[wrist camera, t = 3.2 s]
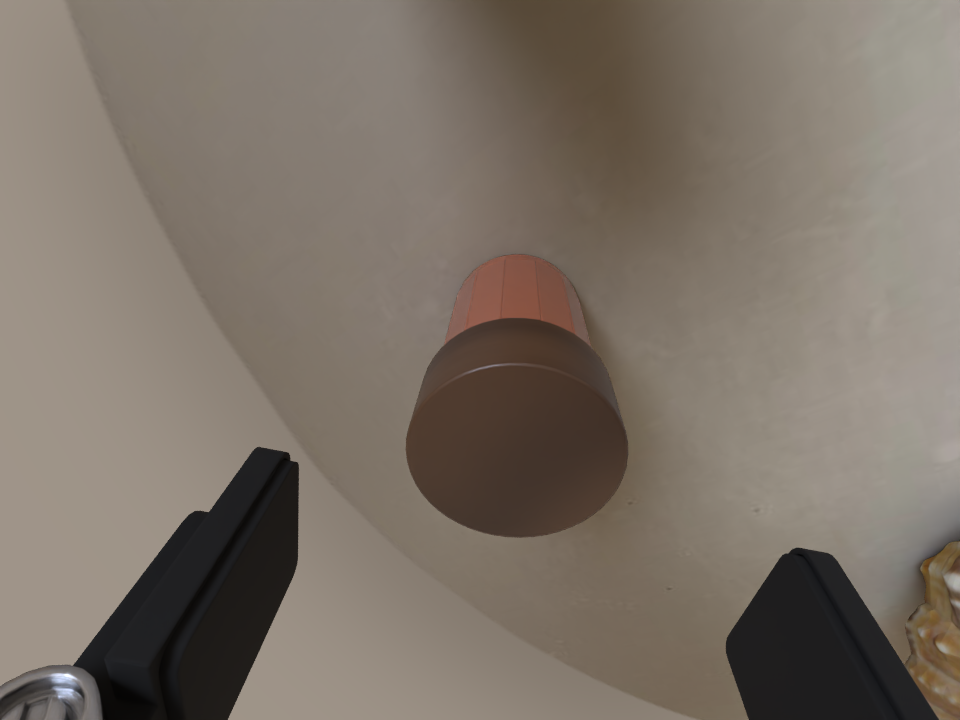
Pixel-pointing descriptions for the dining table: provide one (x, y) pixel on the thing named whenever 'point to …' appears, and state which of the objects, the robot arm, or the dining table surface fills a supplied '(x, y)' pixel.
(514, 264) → the cup
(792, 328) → the dining table surface
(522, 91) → the dining table surface
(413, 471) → the walnut chip
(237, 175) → the dining table surface
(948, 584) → the seashell
